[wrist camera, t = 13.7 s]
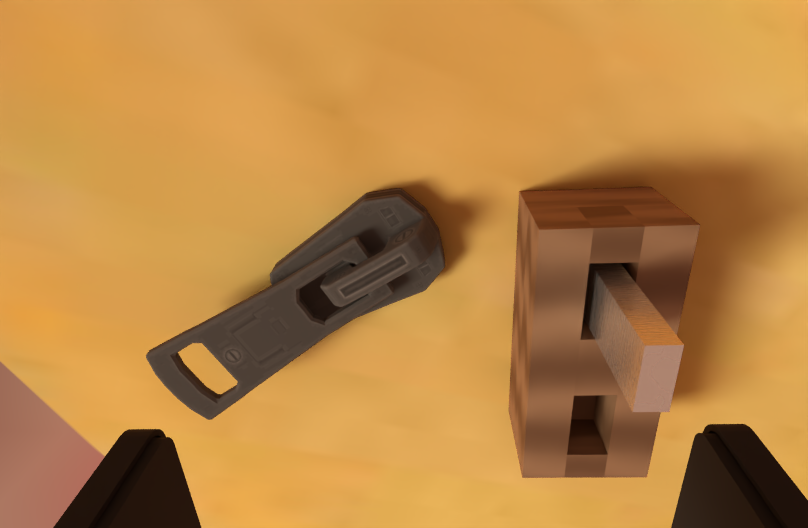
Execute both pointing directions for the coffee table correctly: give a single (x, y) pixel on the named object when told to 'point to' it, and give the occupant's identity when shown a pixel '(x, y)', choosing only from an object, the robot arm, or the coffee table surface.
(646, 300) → the pinkish wooden bar
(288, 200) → the coffee table surface
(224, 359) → the zipper pull
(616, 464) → the slotted wooden block
